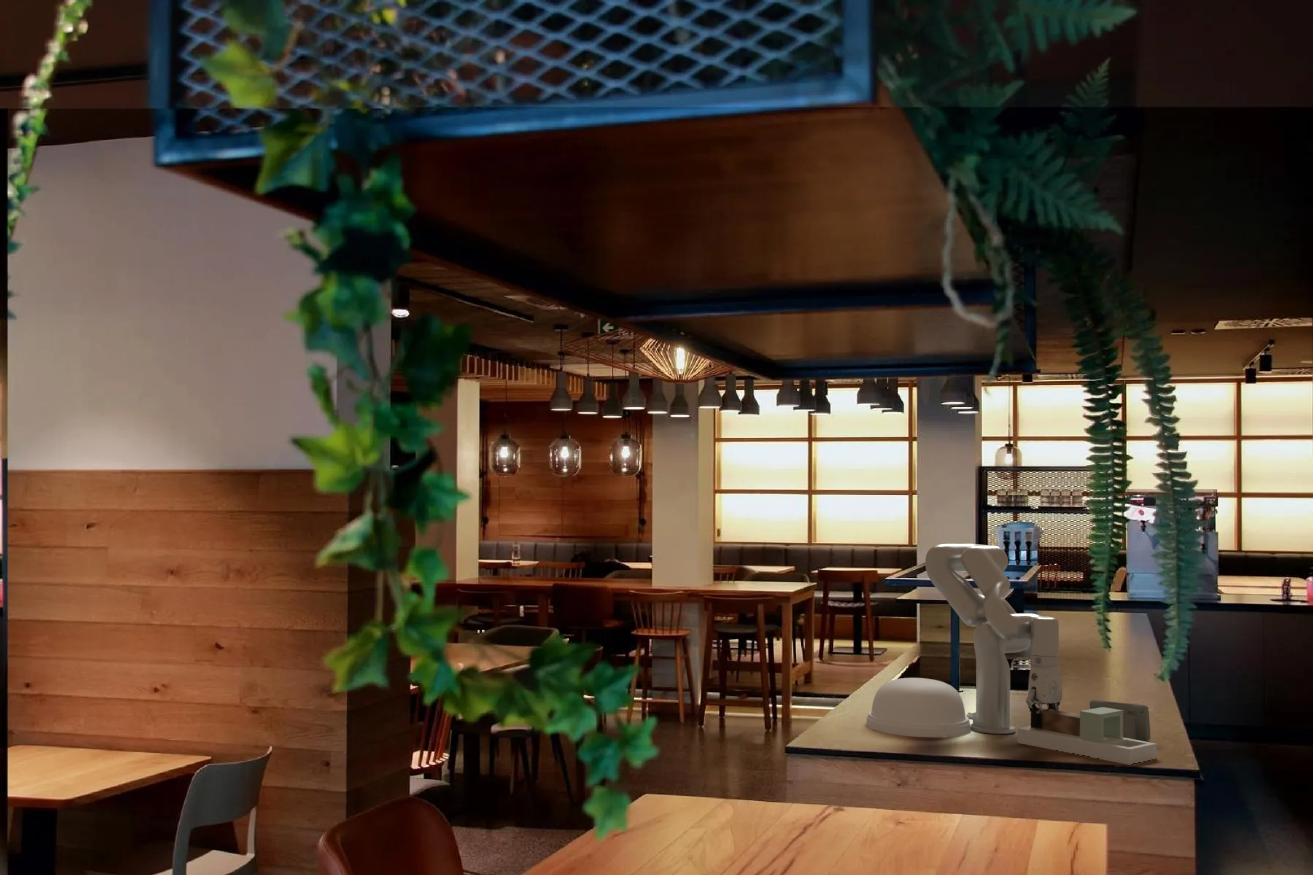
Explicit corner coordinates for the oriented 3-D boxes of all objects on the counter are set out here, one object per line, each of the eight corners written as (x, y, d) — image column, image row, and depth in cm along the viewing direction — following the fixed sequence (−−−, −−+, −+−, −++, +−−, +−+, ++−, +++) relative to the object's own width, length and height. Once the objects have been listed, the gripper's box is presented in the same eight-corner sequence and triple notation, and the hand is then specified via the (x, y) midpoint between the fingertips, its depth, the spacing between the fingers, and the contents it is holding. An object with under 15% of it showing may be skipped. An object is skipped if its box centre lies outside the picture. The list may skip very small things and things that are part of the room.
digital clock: (1153, 741, 349) (1154, 703, 349) (1140, 745, 342) (1140, 707, 343) (1098, 733, 360) (1098, 696, 361) (1084, 737, 354) (1084, 699, 354)
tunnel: (1079, 738, 329) (1080, 710, 330) (1102, 734, 336) (1102, 706, 337) (1100, 742, 325) (1100, 714, 325) (1122, 738, 332) (1123, 710, 332)
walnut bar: (1030, 727, 344) (1030, 709, 345) (1041, 725, 348) (1041, 707, 348) (1079, 736, 333) (1079, 717, 333) (1089, 734, 336) (1089, 715, 336)
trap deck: (1017, 742, 343) (1017, 728, 343) (1044, 737, 351) (1044, 723, 351) (1130, 764, 317) (1130, 749, 317) (1156, 758, 325) (1156, 743, 325)
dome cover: (847, 719, 374) (848, 672, 375) (936, 716, 383) (936, 670, 384) (897, 740, 344) (898, 689, 344) (992, 736, 352) (993, 686, 353)
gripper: (1038, 665, 336) (1037, 731, 336) (1074, 660, 347) (1073, 725, 347) (1014, 661, 342) (1014, 727, 341) (1050, 657, 353) (1050, 720, 352)
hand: (1044, 725), depth 344 cm, fingers open, 6 cm apart
